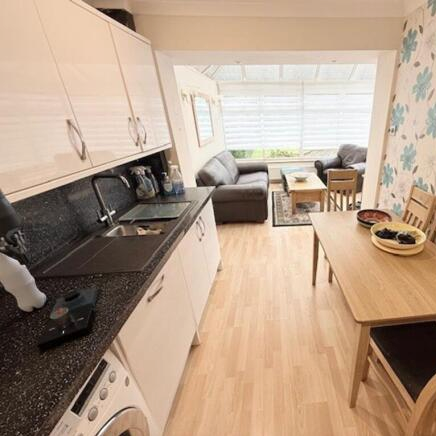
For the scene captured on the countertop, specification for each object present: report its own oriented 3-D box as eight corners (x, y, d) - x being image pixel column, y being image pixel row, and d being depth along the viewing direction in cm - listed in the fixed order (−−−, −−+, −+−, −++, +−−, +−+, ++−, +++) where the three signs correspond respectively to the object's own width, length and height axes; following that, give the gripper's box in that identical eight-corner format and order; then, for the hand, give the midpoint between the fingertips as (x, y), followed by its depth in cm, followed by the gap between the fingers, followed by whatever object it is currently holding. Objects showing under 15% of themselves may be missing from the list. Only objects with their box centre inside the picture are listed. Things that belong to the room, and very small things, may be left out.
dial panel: (41, 351, 72) (36, 344, 71) (52, 327, 80) (47, 321, 79) (90, 333, 77) (85, 326, 76) (95, 312, 85) (91, 306, 84)
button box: (52, 321, 83) (46, 312, 81) (60, 302, 91) (55, 294, 89) (94, 306, 88) (89, 298, 86) (98, 290, 96) (94, 283, 94)
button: (64, 303, 86) (62, 299, 85) (67, 296, 89) (65, 292, 88) (78, 298, 87) (76, 295, 87) (80, 292, 91) (78, 288, 90)
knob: (73, 325, 77) (66, 313, 75) (56, 332, 75) (47, 320, 73) (76, 316, 80) (68, 304, 78) (59, 322, 78) (51, 311, 76)
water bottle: (39, 298, 94) (2, 244, 83) (53, 300, 93) (17, 245, 82) (17, 312, 88) (-26, 256, 77) (32, 314, 86) (-10, 258, 76)
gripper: (3, 219, 66) (35, 270, 73) (22, 204, 76) (47, 250, 83) (-37, 226, 62) (0, 278, 70) (-12, 210, 73) (18, 257, 80)
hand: (26, 263), depth 77 cm, fingers closed
